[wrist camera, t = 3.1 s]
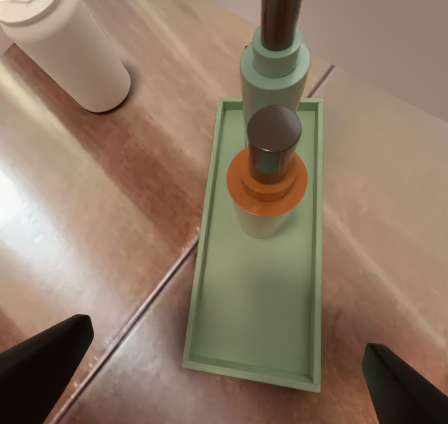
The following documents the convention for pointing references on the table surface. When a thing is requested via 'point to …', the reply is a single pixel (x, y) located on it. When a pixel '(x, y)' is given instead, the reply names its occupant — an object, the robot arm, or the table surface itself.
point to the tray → (259, 271)
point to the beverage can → (68, 49)
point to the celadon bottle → (274, 61)
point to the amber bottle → (267, 172)
